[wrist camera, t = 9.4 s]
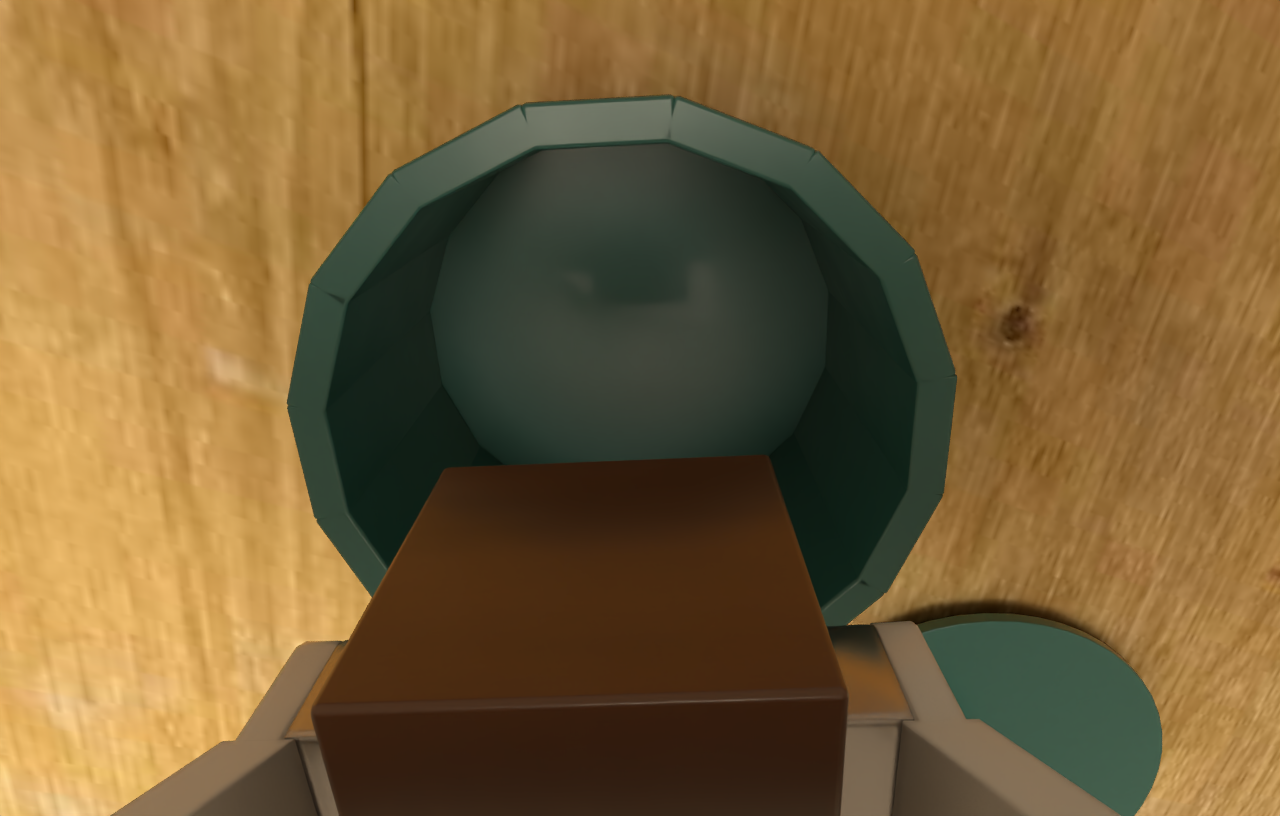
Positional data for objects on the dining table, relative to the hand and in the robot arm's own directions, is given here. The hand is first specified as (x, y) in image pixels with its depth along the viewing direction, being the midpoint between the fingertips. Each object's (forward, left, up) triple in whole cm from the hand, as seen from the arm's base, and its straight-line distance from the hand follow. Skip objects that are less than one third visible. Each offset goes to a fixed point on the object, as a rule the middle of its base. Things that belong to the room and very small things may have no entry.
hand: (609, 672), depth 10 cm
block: (0, 0, -2) cm, 2 cm away
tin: (0, 0, -15) cm, 15 cm away
